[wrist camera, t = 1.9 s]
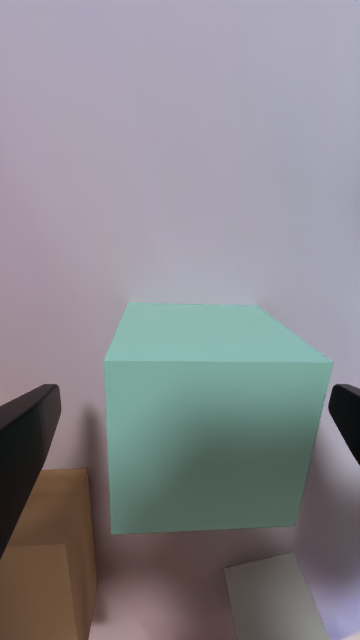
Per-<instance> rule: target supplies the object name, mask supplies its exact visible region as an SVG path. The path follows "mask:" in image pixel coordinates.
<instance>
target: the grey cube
mask: <svg viewBox="0 0 360 640" xmlns="http://www.w3.org/2000/svg"><path fill="white" fill-rule="evenodd" d="M224 573H225V579H226V584H227V589H228V594H229V599H230V605H231V610H232V615H233V620H234V625H235V631H236V636H237V640H330V638H329V635H328V633H327V630H326V628H325V626H324V623H323V621H322V619H321V616H320V614H319V611H318V609H317V607H316V604H315V602H314V599H313V597H312V595H311V592H310V590H309V588H308V585H307V583H306V580H305V578H304V576H303V573H302V571H301V568H300V566H299V564H298V561H297V559H296V557H295V554H294V552H291V553H287V554H282V555H278V556H274V557H270V558H265V559H261V560H257V561H253V562H248V563H244V564H240V565H236V566H231V567H227V568H224Z"/></svg>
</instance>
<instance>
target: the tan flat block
mask: <svg viewBox="0 0 360 640" xmlns="http://www.w3.org/2000/svg"><path fill="white" fill-rule="evenodd" d="M97 586H98V582H97V570H96V559H95V548H94V537H93V525H92V514H91V503H90V492H89V480H88V469H87V468H85V469H56V470H41V472H40V474H39V476H38V478H37V481H36V483H35V485H34V487H33V489H32V492H31V494H30V496H29V498H28V500H27V503H26V505H25V507H24V509H23V511H22V514H21V516H20V518H19V520H18V522H17V525H16V527H15V529H14V531H13V533H12V536H11V538H10V540H9V542H8V544H7V547H6V549H5V551H4V553H3V555H2V558H1V560H0V640H88V638H89V632H90V627H91V621H92V615H93V609H94V603H95V598H96V592H97Z"/></svg>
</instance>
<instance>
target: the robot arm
mask: <svg viewBox="0 0 360 640" xmlns="http://www.w3.org/2000/svg"><path fill="white" fill-rule="evenodd" d="M328 408H329V412H330V415H331V416H332V418H333V420H334V422H335V424H336V426H337V427H338V429H339V431H340V433H341V435H342V436H343V438H344V440H345V442H346V444H347V446H348V447H349V449H350V451H351V453H352V454H353V456H354V457H355V459H356V461H357V462H358V464H359V465H360V389H359V388H356V387H354V386H351V385H348V384H336V385H334V386H333V388H332V392H331V397H330V401H329V405H328ZM60 415H61V400H60V390H59V386H58V385H57V384H44V385H42V386H40V387H38V388H36V389H34V390H32V391H30V392H28V393H26V394H24V395H22V396H20V397H18V398H16V399H14V400H12V401H10V402H8V403H6V404H4V405H2V406H0V560H1V558H2V555H3V553H4V551H5V549H6V547H7V544H8V542H9V540H10V538H11V536H12V533H13V531H14V529H15V527H16V525H17V522H18V520H19V518H20V516H21V514H22V511H23V509H24V507H25V505H26V503H27V500H28V498H29V496H30V494H31V492H32V489H33V487H34V485H35V483H36V481H37V478H38V476H39V474H40V472H41V470H42V467H43V465H44V463H45V460H46V457H47V455H48V452H49V449H50V445H51V442H52V439H53V436H54V433H55V430H56V427H57V424H58V421H59V418H60Z"/></svg>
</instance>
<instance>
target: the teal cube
mask: <svg viewBox="0 0 360 640" xmlns="http://www.w3.org/2000/svg"><path fill="white" fill-rule="evenodd" d="M332 366H333V362H332V361H331V360H329V359H328V358H327V357H325V356H324V355H323V354H321V353H320V352H319V351H317V350H316V349H315V348H313V347H312V346H311V345H309V344H308V343H307V342H305V341H304V340H303V339H301V338H300V337H299V336H297V335H296V334H295V333H293V332H292V331H291V330H289V329H288V328H287V327H285V326H284V325H283V324H281V323H280V322H279V321H277V320H276V319H275V318H273V317H272V316H271V315H269V314H268V313H267V312H265V311H264V310H263V309H261V308H260V307H259V306H247V305H206V304H165V303H128V304H127V307H126V309H125V311H124V314H123V316H122V319H121V321H120V323H119V326H118V328H117V330H116V333H115V335H114V338H113V340H112V342H111V345H110V347H109V350H108V352H107V354H106V357H105V359H104V378H105V402H106V425H107V448H108V471H109V495H110V518H111V535H113V534H135V533H157V532H179V531H201V530H223V529H245V528H267V527H289V526H295V525H296V521H297V516H298V512H299V508H300V503H301V499H302V495H303V490H304V486H305V482H306V478H307V473H308V469H309V465H310V460H311V456H312V452H313V447H314V443H315V439H316V435H317V430H318V426H319V422H320V417H321V413H322V409H323V405H324V400H325V396H326V392H327V387H328V383H329V379H330V374H331V370H332Z"/></svg>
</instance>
